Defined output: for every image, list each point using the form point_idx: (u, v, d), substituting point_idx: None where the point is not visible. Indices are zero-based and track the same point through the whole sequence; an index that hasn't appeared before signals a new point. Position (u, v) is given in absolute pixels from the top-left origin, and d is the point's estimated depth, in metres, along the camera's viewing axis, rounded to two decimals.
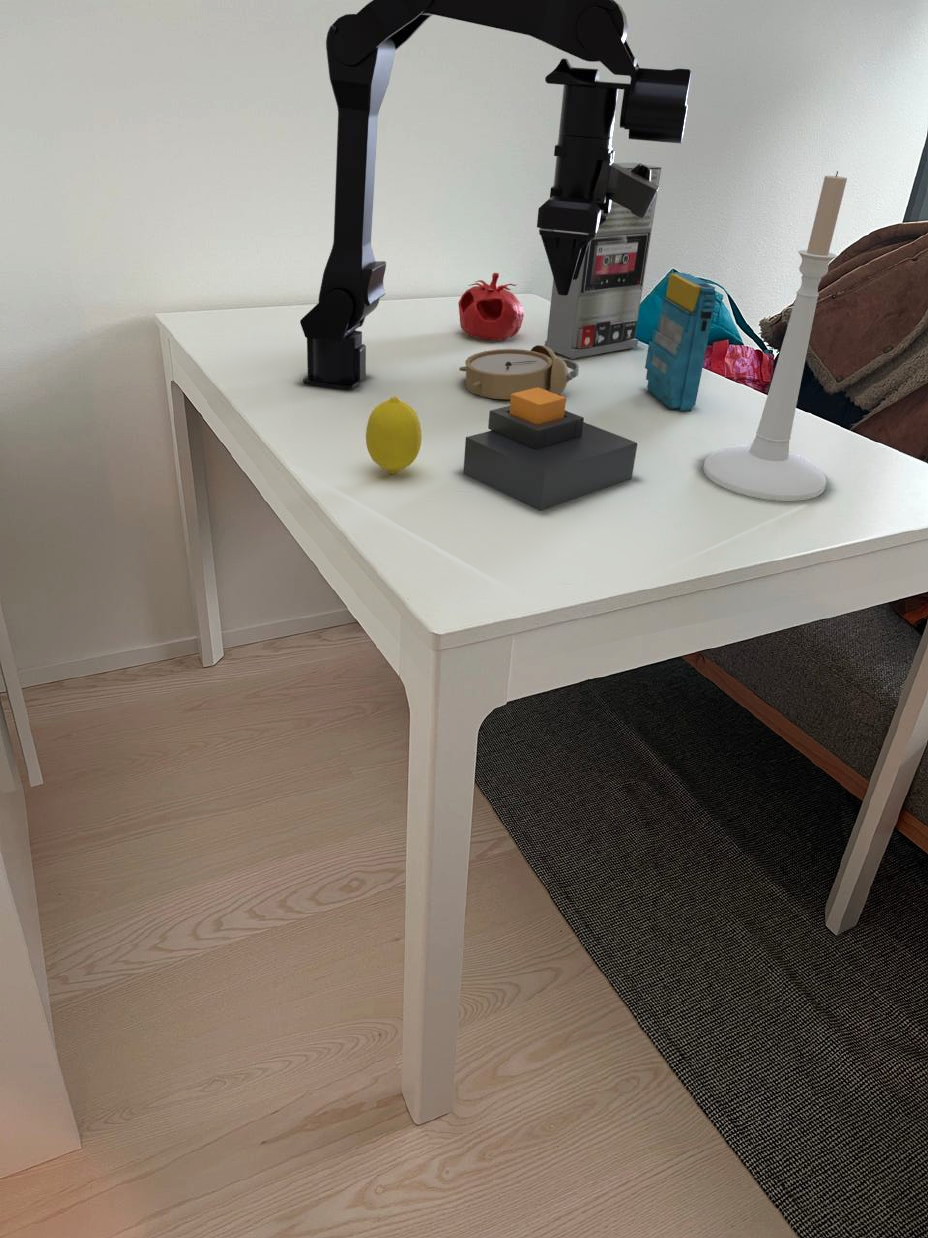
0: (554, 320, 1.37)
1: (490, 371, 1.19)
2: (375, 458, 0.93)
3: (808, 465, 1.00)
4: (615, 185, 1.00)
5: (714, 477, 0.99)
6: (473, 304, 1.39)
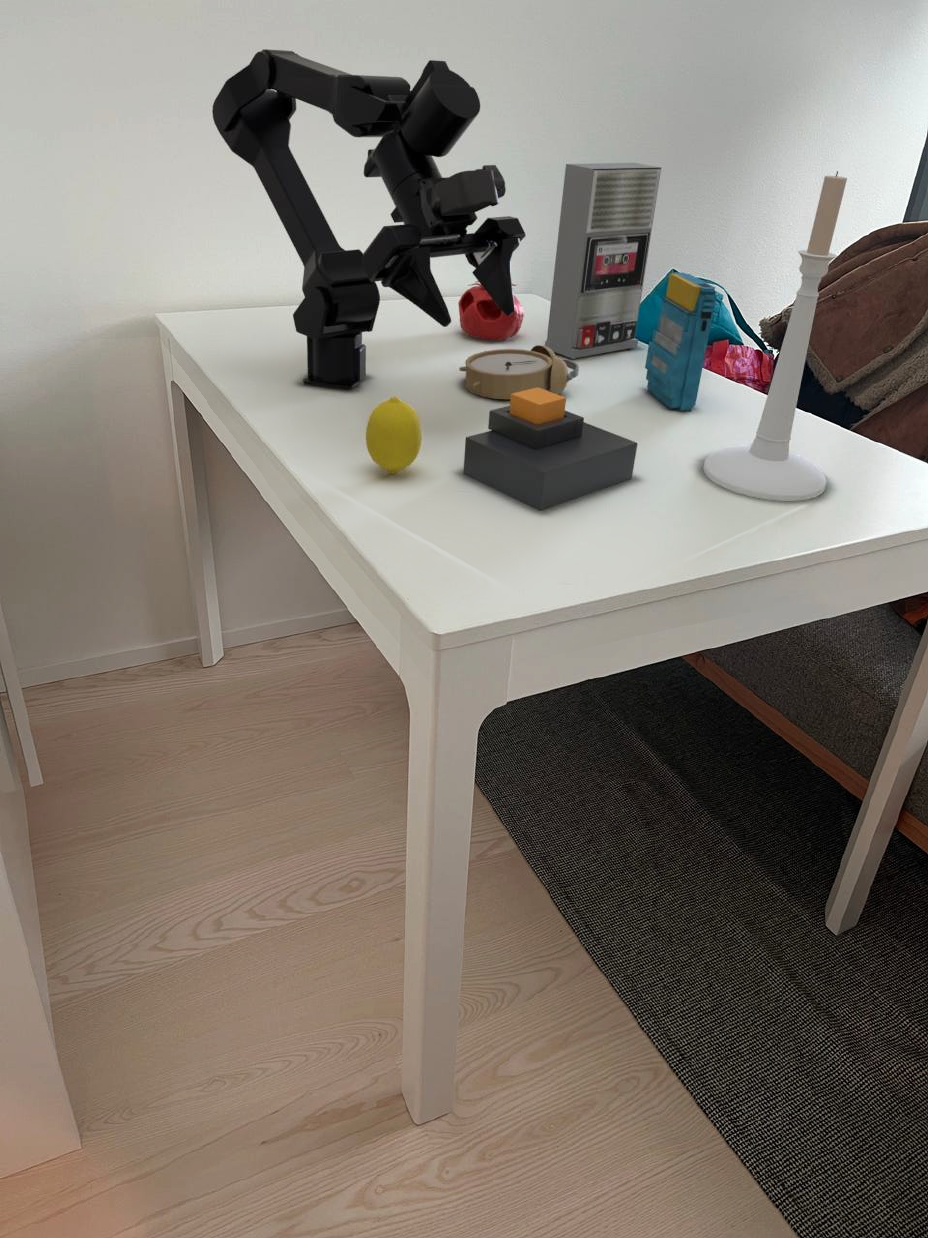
0: (554, 320, 1.37)
1: (490, 371, 1.19)
2: (376, 458, 0.93)
3: (808, 465, 1.00)
4: (434, 199, 0.94)
5: (714, 477, 0.99)
6: (473, 304, 1.39)
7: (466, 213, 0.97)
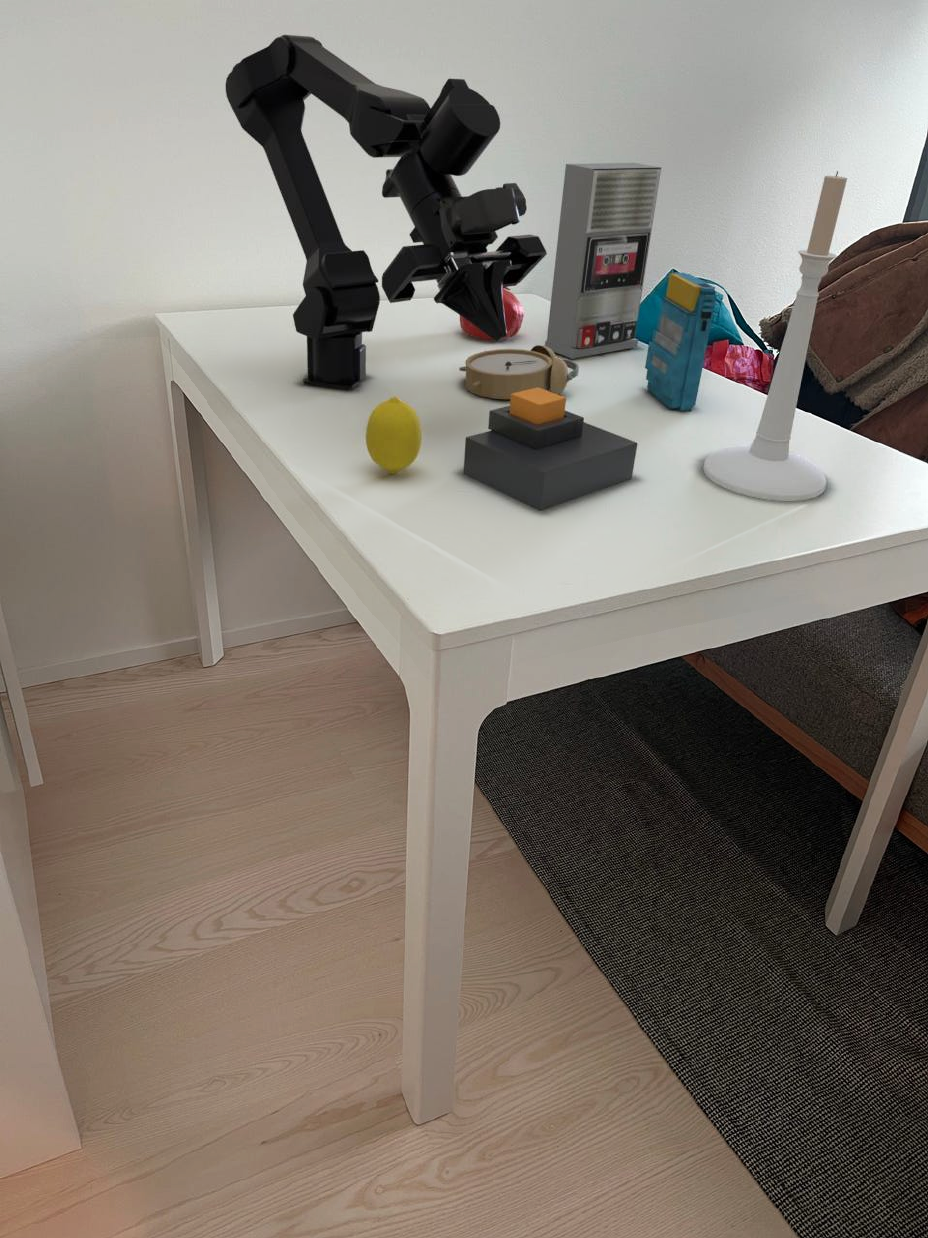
0: (554, 320, 1.37)
1: (490, 371, 1.19)
2: (375, 458, 0.93)
3: (808, 465, 1.00)
4: (454, 218, 0.93)
5: (714, 477, 0.99)
6: None
7: (486, 232, 0.96)
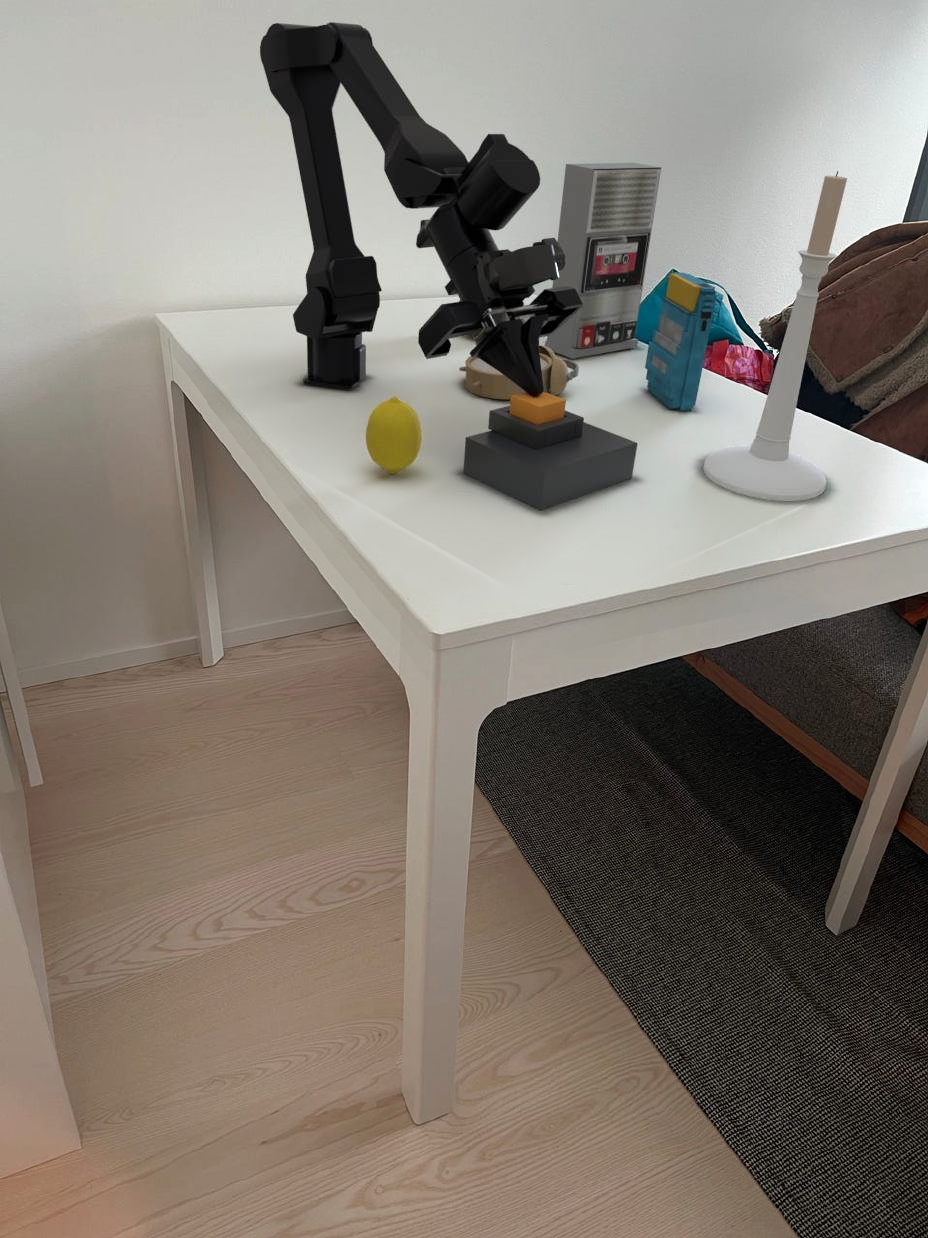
0: None
1: (490, 371, 1.19)
2: (375, 458, 0.93)
3: (808, 465, 1.00)
4: (493, 274, 0.91)
5: (714, 477, 0.99)
6: None
7: (524, 286, 0.94)
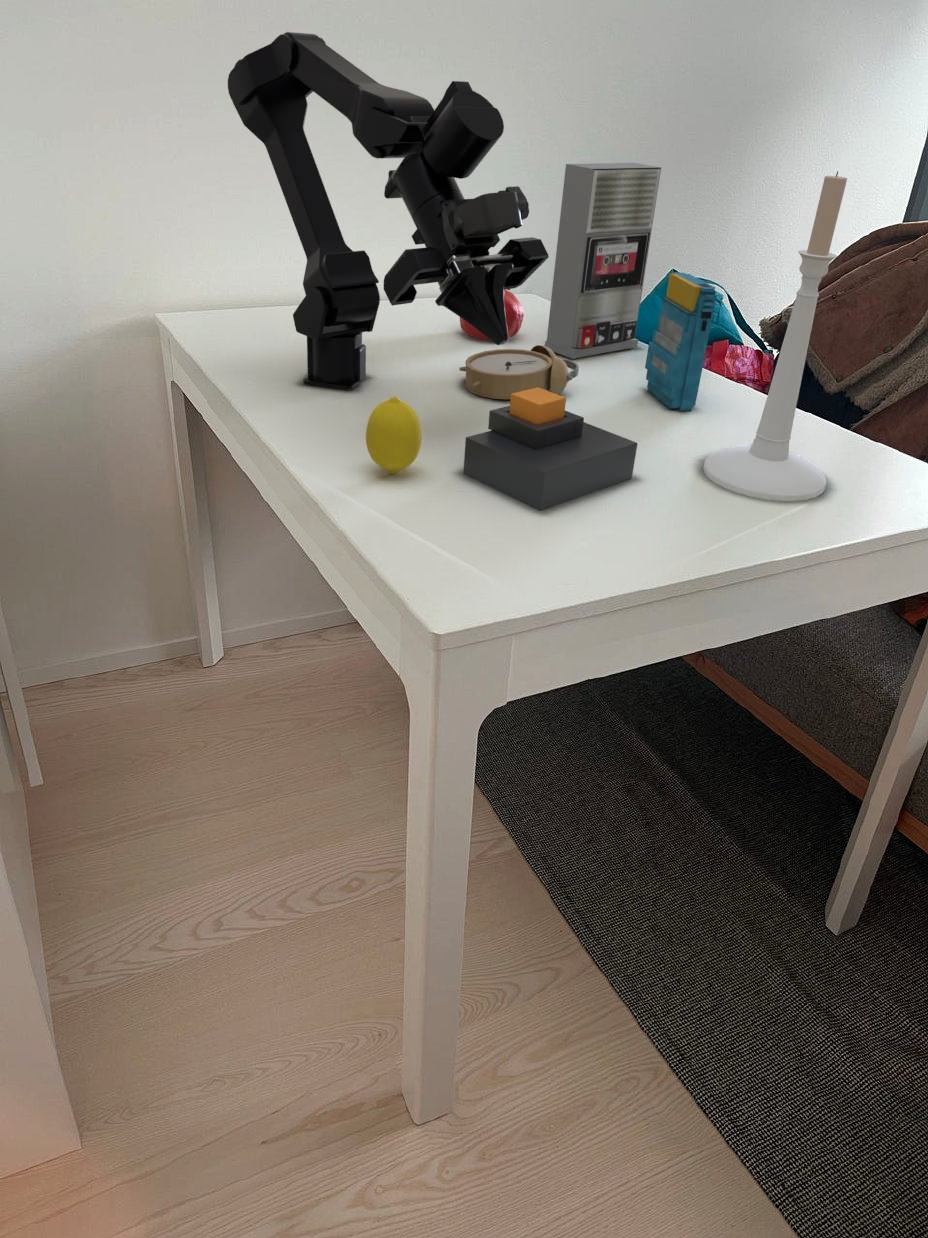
0: (554, 320, 1.37)
1: (490, 371, 1.19)
2: (375, 458, 0.93)
3: (808, 465, 1.00)
4: (457, 221, 0.93)
5: (714, 477, 0.99)
6: None
7: (489, 235, 0.96)
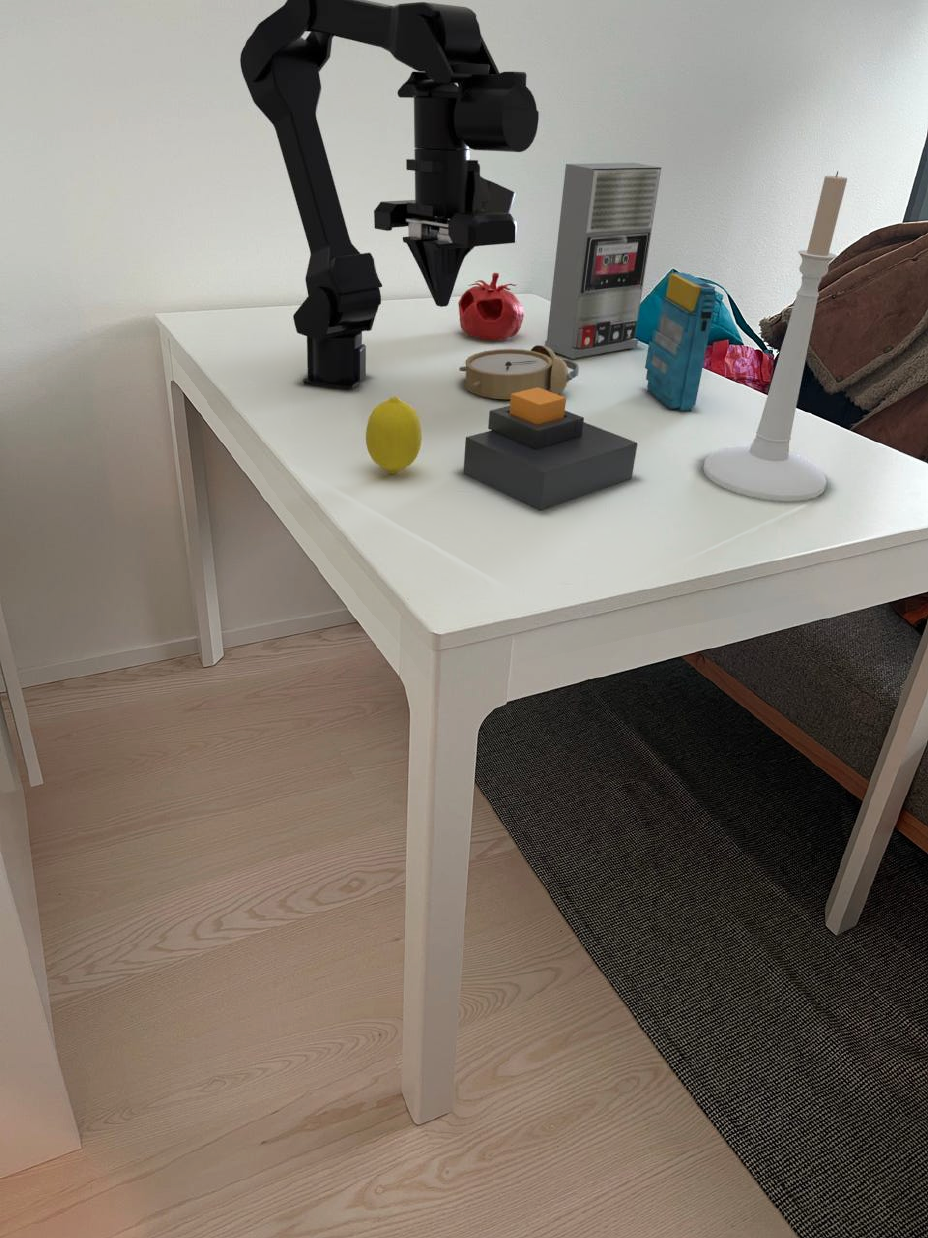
0: (554, 320, 1.37)
1: (490, 371, 1.19)
2: (376, 458, 0.93)
3: (808, 465, 1.00)
4: (488, 194, 0.99)
5: (714, 477, 0.99)
6: (473, 304, 1.39)
7: None
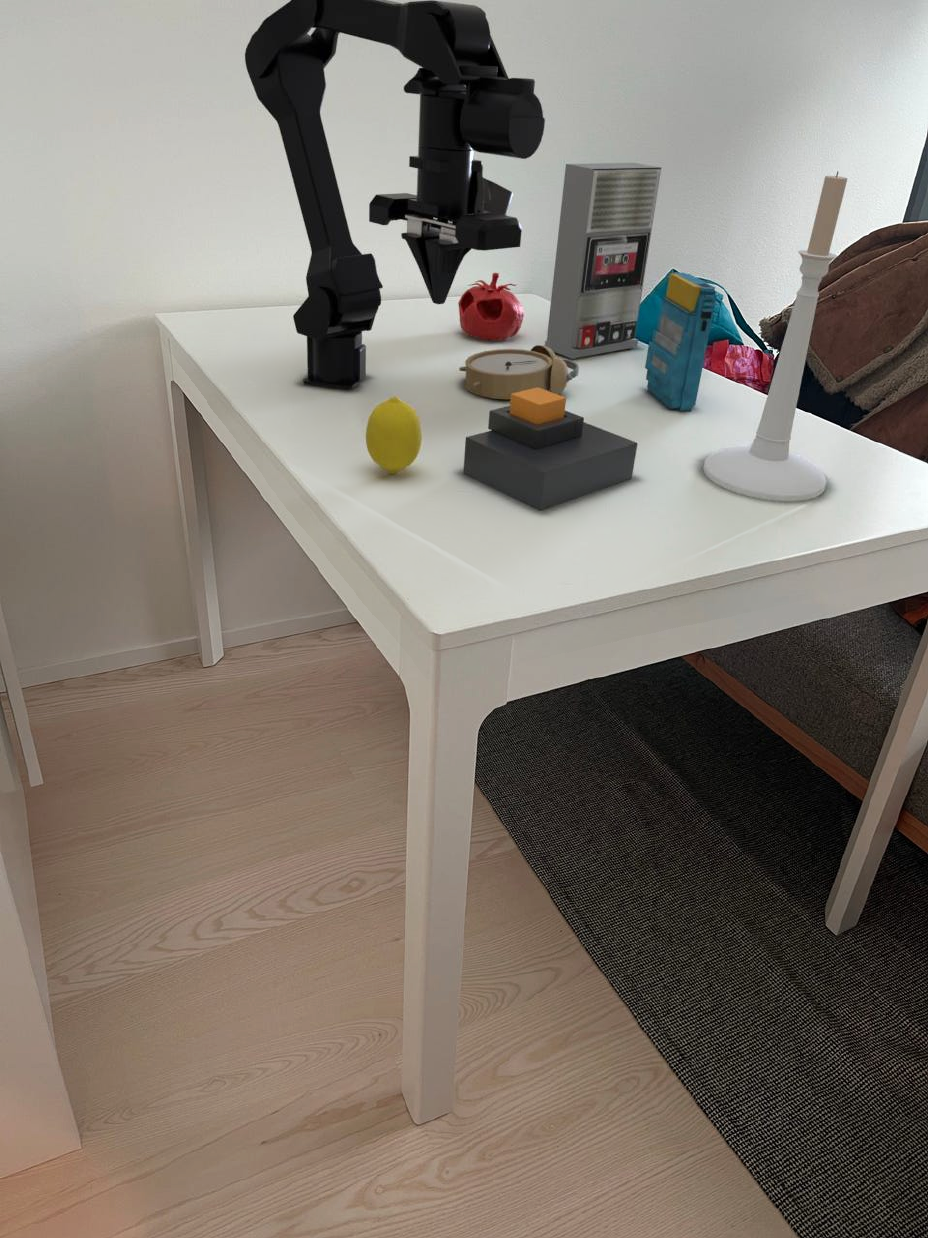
0: (554, 320, 1.37)
1: (490, 371, 1.19)
2: (375, 458, 0.93)
3: (808, 465, 1.00)
4: (489, 194, 1.00)
5: (714, 477, 0.99)
6: (473, 304, 1.39)
7: None
